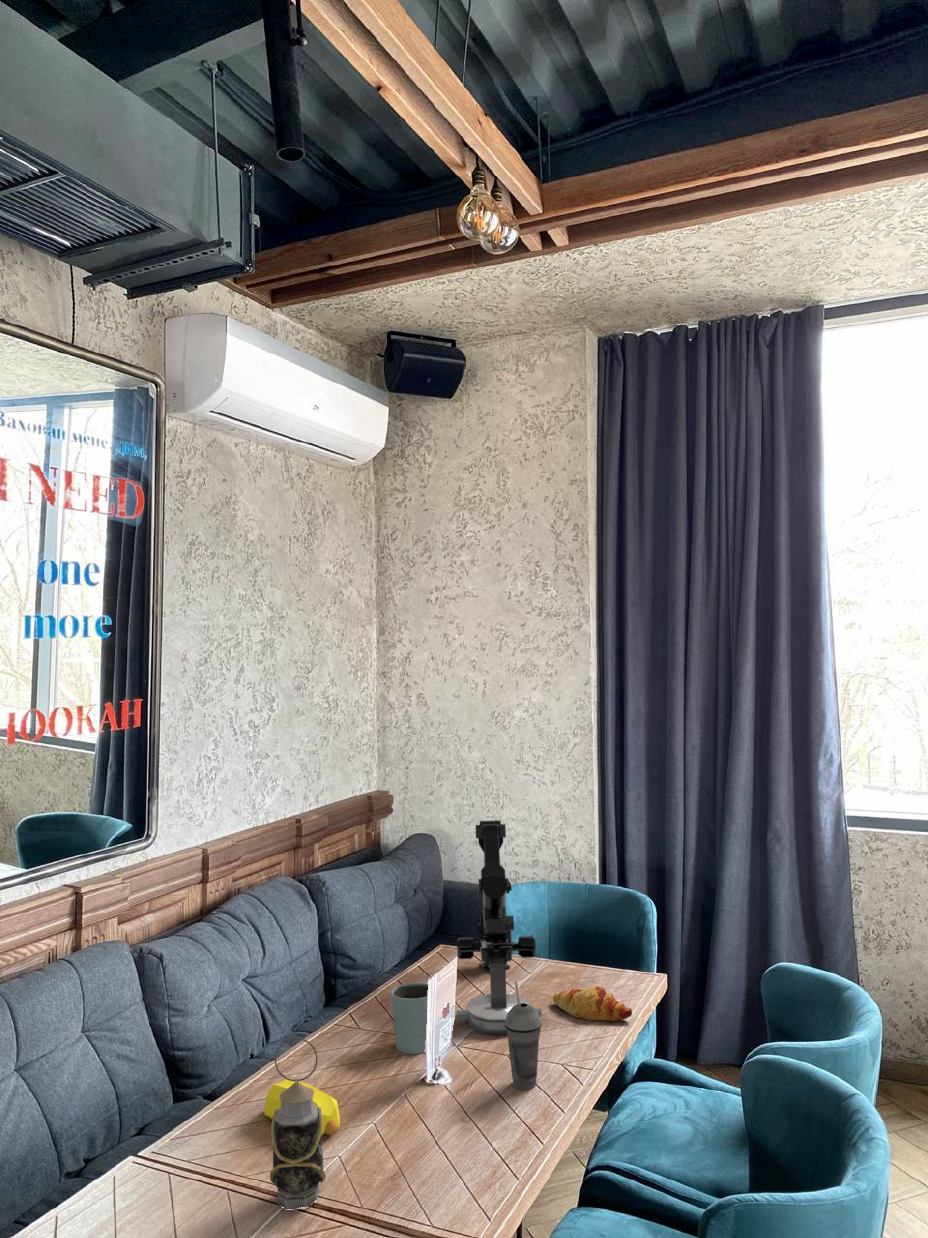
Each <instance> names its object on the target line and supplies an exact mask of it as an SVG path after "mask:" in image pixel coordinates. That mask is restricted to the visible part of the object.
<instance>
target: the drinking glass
mask: <svg viewBox="0 0 928 1238" xmlns="http://www.w3.org/2000/svg"><path fill="white" fill-rule="evenodd" d="M428 984H429V983H425V982H424V983H423V982H413V983H412V982H410V983H404V984H401V985H398V986H397V985H396V987H394V988H392V990H391V991H390V996H391V1007H392V1019H393V1023H394V1025H393V1027H394V1036H395V1037H394V1038H395V1046H396V1051H397V1050H398V1052H400V1053H402V1054H406V1055H421V1054H425V1053H424V1050H425V1040H426V1024H427V990H428Z"/></svg>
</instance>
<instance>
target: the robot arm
mask: <svg viewBox="0 0 928 1238" xmlns="http://www.w3.org/2000/svg"><path fill="white" fill-rule="evenodd" d="M506 829H507V828H506V823H505V824H504V823H502V820H498V819H497V820H479V824H475V839H478V842H477V843H478V845H479V848H480V849H481V850H482V852H483V860H484V864H483V865H484V866H483V867H482V869H481V870H480V878H478V895H481V897H482V914H481V916H480V923H478V924H477V928H478V930H477V931H478V936H477V937H478V942H474V937H458V939H457V943H456V947H457V948H456V950H457V959H459V960H472V959H473V957H474V956H475V955H474V954H475V953H476V952H479V953H480V957H481V963H479V964H478V966H479V967H480V968H482V969H484V971H487V972H488V973H490V959H505V969H506V970H507V969H510V968H511V966H510V965H509V964H507V963H508V962H511V961H512V960H513V959H512V958H513V957H512V955H513V952H518V956H519V957H521V958H523V959H526V958H528V959H529V958H534V957H536V947H537V946H536V938H535V937H534V936H533V935H526V936H522V935H521V936H518V941H516V942H514V941H513V942H512V931H514V930H515V921H514V919H515V918H514V915H507V894H510V892H512V883H511V881H510V880H509V878H506V869H505V868H504V867H503V866H502V865H501V857H500V853H501V852H500V849H501V848H502V846H503V844H504V838H506V837H507V834H506V833H507V832H506V831H507V830H506ZM474 952H475V953H474Z"/></svg>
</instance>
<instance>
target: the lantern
mask: <svg viewBox="0 0 928 1238" xmlns="http://www.w3.org/2000/svg"><path fill="white" fill-rule="evenodd" d="M295 1040H299V1041H302V1042H306V1043H307V1044H308V1045H310V1046H311V1048H312V1049H313V1051H314V1053H315V1065H314V1067H313V1069H312V1070H311V1072H310V1074H308V1075H307V1076H305V1077H302V1078H299V1079H298V1077H296V1078H295V1079H294V1080H292V1079H293V1078H290V1079H289V1077H286V1076H285V1075H284V1074H282V1072H281V1071H280V1069H279V1068H278V1065H277V1056H278V1053H279V1051H280V1049H281V1048H282V1046H284V1045H285V1044H286V1043H287V1042H291V1041H295ZM318 1061H319V1059H318V1052H317V1050H316V1048H315V1046H314V1045H313V1044H312V1043H311V1042H310V1041H308V1040H306V1039H304V1038H302V1037H301V1038H300V1037H292V1038H289V1039H286V1040H285V1041H283V1042H282V1043H281V1044H280V1045H279V1046H278V1048H277V1050H276V1052H275V1055H274V1066H275V1069H276V1071H277V1072H278V1074H279V1075H280V1076H281V1077H282V1078H283V1079H284V1080H285V1079H287V1080H290V1081H295V1083H294V1084H293V1085H292V1086H290V1087H289V1088H288V1089H286V1090H284V1091H283V1092H282V1093H281V1094H280V1096H279V1099H280V1101H281V1108H279V1109H276V1110H275V1111H274V1116H273V1120H272V1119H271V1126H270V1136H271V1142H272V1146H273V1147H272V1149H273V1150H272V1169H271V1170H270V1172H269V1180H270V1182H271V1183H272V1184H273V1185H275V1187H276V1188H277V1193H278V1194H277V1205H278V1204H279V1205H281V1206H282V1207H284V1209H292V1208H293V1209H295V1208H299V1207H300V1208H301V1207H307V1206H309V1205H310V1204H311V1203H312V1202H314V1201H315V1200H317V1198H318V1199H319V1197H318V1193H319V1194H320V1183H323V1182H325V1180H326V1172H325V1171H324V1155H323V1135H322V1126H323V1119H322V1109H321V1108H320V1107H318V1106H316V1105H314V1104H313V1095H314V1090H313V1089H311V1088H308V1087H305V1086H304V1085H302V1084H300V1083H299V1082H298V1081H300V1082H303V1081H305V1080H306V1079H308V1078H310V1077H311V1076H312V1074H314V1072H315V1070H316V1069H317V1067H318V1066H317V1065H318ZM284 1209H283V1210H284Z"/></svg>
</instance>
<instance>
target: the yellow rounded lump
mask: <svg viewBox="0 0 928 1238" xmlns="http://www.w3.org/2000/svg"><path fill="white" fill-rule="evenodd" d="M288 1078H289V1077H288ZM289 1079H292V1080H295V1078H294V1079H293V1078H289ZM298 1082H299V1083H300V1084H302V1085H304V1086H305V1087H308V1088H311V1089H313V1090H314V1095H313V1104H314V1105H316V1106H318V1107H320V1108H321V1109H322V1119H323V1126H322V1136H323V1135H326V1136H332V1135H335V1133H336V1132H337V1131H338V1129H339V1128H340V1127H341V1125H340V1124H341V1123H340V1122H341V1119H340V1117H341V1116H340V1112H339V1111H340V1110H339V1105H338V1100H337V1099H335V1098H334V1097H333V1096H331V1095H330V1094H328V1093H326V1092H324V1091H322V1090H320V1089H318V1088H316V1087H315V1086H313V1085H311V1084H310V1083H307V1082H303V1081H298ZM294 1083H295V1081H290V1080H287V1079H285V1078H284V1080H282V1081H281V1082H277V1083H273V1084H272V1086H271V1087H270V1089H269V1090H268V1091H267V1094H266V1097H265V1106H264V1112H263V1113H264V1116H266V1117H267V1118H269V1120H271V1121H272V1120H273V1116H274V1111H275V1110H276V1109H279V1108H281V1101H280V1099H279V1096H280V1094H281V1093H282V1092H283V1091H284V1090H286V1089H288V1088H289V1087H290V1086H292V1085H293V1084H294Z"/></svg>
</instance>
